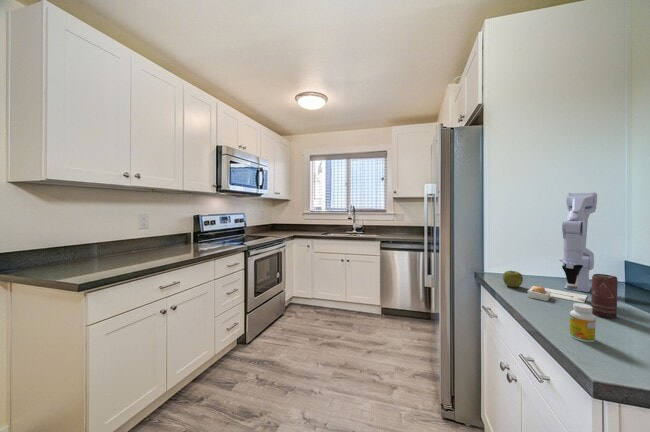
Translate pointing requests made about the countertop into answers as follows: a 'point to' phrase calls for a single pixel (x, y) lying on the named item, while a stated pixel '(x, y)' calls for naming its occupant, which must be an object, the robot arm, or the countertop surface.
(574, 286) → the marker
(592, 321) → the supplement bottle
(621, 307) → the countertop surface
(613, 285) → the can
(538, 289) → the button
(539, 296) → the button housing
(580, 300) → the paper
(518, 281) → the apple
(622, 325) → the countertop surface
